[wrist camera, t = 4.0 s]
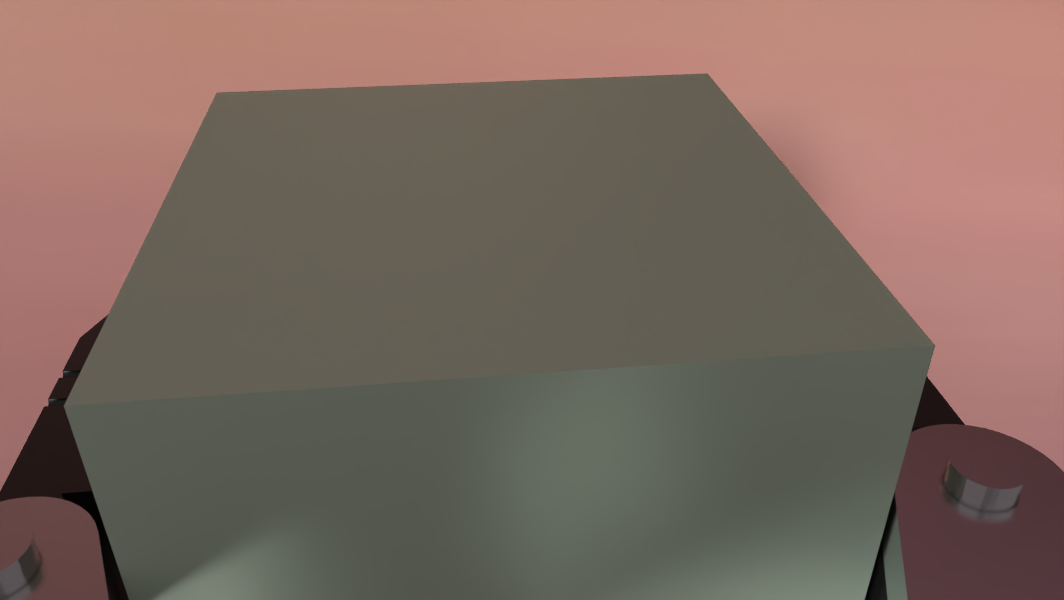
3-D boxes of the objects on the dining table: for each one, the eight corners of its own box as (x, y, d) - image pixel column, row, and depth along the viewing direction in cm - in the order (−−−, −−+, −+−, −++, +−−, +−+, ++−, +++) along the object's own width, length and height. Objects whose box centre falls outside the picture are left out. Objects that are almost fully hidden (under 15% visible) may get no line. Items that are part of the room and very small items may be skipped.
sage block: (217, 92, 9) (65, 406, 5) (707, 73, 10) (934, 345, 6) (286, 469, 12) (223, 881, 8) (669, 439, 12) (805, 811, 8)
